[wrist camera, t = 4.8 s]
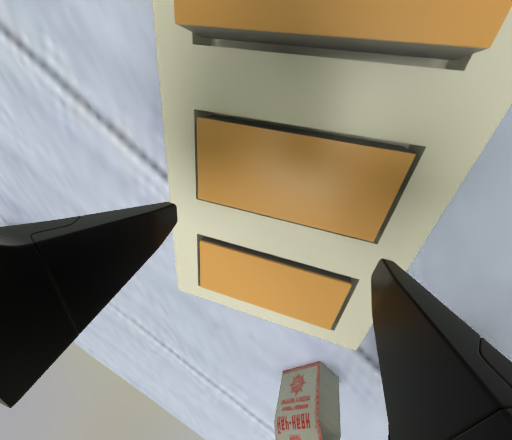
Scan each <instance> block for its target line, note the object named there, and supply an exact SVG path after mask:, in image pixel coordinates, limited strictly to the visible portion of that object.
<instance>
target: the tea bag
mask: <svg viewBox="0 0 512 440" xmlns="http://www.w3.org/2000/svg"><path fill="white" fill-rule="evenodd" d="M274 423H275V437H276V440H340V437H341V432H340V404H339V378H338V377H337V376H336V375H335V374H334V373H332V372H331V371H330V370H329V369H328V368H327V367H326V366H325V365H324V364H323V363H321V362H320V361H319V362H316V363H312V364H308V365H304V366H301V367H297V368H293V369H290V370H286V371H283V374H282V380H281V386H280V391H279V397H278V403H277V409H276V415H275V421H274Z"/></svg>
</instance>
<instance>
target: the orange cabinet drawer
mask: <svg viewBox="0 0 512 440" xmlns="http://www.w3.org/2000/svg"><path fill="white" fill-rule="evenodd" d="M351 286H352V282H351V277H349V276H345V275H342V274H338V273H335V272H331V271H328V270H324V269H321V268H317V267H313V266H310V265H306V264H303V263H299V262H296V261H292V260H289V259H285V258H282V257H278V256H275V255H271V254H268V253H264V252H260V251H257V250H253V249H250V248H246V247H243V246H239V245H236V244H232V243H229V242H225V241H222V240H218V239H215V238H211V237H207V236H204V237H203V238H202V239H201V240H200V287H202V288H205V289H208V290H211V291H214V292H217V293H220V294H223V295H226V296H229V297H232V298H235V299H238V300H241V301H244V302H247V303H250V304H253V305H256V306H259V307H262V308H265V309H268V310H271V311H274V312H277V313H280V314H283V315H286V316H289V317H292V318H295V319H298V320H301V321H304V322H307V323H310V324H313V325H316V326H319V327H322V328H325V329H328V330H330V329H331V327H332V325H333V323H334V321H335V319H336V317H337V315H338V313H339V311H340V309H341V306H342V304H343V302H344V300H345V298H346V296H347V294H348V292H349V290H350V288H351Z"/></svg>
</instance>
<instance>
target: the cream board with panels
mask: <svg viewBox="0 0 512 440" xmlns="http://www.w3.org/2000/svg"><path fill="white" fill-rule="evenodd" d="M152 6H153V17H154V29H155V40H156V51H157V62H158V73H159V84H160V95H161V106H162V117H163V128H164V139H165V150H166V161H167V172H168V183H169V195H170V203H174V204H175V205H176V206H177V218H178V220H177V224H176V225H175V227H174V228H173V239H174V250H175V261H176V272H177V283H178V290H181V291H184V292H187V293H190V294H193V295H196V296H199V297H201V298H204V299H207V300H210V301H213V302H216V303H219V304H222V305H225V306H228V307H230V308H233V309H236V310H239V311H242V312H245V313H248V314H251V315H254V316H257V317H260V318H262V319H265V320H268V321H271V322H274V323H277V324H280V325H283V326H286V327H289V328H291V329H294V330H297V331H300V332H303V333H306V334H309V335H312V336H315V337H318V338H321V339H323V340H326V341H329V342H332V343H335V344H338V345H341V346H344V347H347V348H350V349H352V350H355V351H356V350H357V348H358V347H359V345H360V343H361V342H362V340H363V339H364V337H365V335H366V334H367V332H368V331H369V329H370V328H371V326H372V324H373V319H372V304H371V276H372V273H373V271H374V269H375V267H376V265H377V264H378V262H379V260H380V259H382V258H383V259H387V260H391V261H394V262H395V263H396V264H397V265H398V266H399V267H401V268H402V269H403V270H404V271H405V272H406V271H407V269H408V267H409V266H410V264H411V263H412V261H413V260H414V258H415V256H416V255H417V253H418V252H419V250H420V248H421V247H422V245H423V244H424V242H425V241H426V239H427V237H428V236H429V234H430V233H431V231H432V229H433V228H434V226H435V225H436V223H437V222H438V220H439V218H440V217H441V215H442V214H443V212H444V211H445V209H446V207H447V206H448V204H449V203H450V201H451V199H452V198H453V196H454V195H455V193H456V192H457V190H458V188H459V187H460V185H461V184H462V182H463V180H464V179H465V177H466V176H467V174H468V173H469V171H470V169H471V168H472V166H473V165H474V163H475V161H476V160H477V158H478V157H479V155H480V154H481V152H482V150H483V149H484V147H485V146H486V144H487V143H488V141H489V139H490V138H491V136H492V135H493V133H494V131H495V130H496V128H497V127H498V125H499V124H500V122H501V120H502V119H503V117H504V116H505V114H506V112H507V111H508V109H509V108H510V106H511V105H512V7H511V9H510V11H509V13H508V15H507V17H506V18H505V20H504V22H503V24H502V26H501V28H500V30H499V32H498V34H497V36H496V37H495V39H494V41H493V43H492V45H491V47H490V48H488V49H485V50H482V51H480V52H477V53H474V54H471V55H468V56H465V57H462V58H459V59H456V60H444V59H433V58H422V57H411V56H400V55H389V54H378V53H367V52H356V51H345V50H334V49H323V48H312V47H301V46H290V45H279V44H268V43H257V42H246V41H235V40H224V39H213V38H203V37H201V36H199V35H197V34H195V33H193V32H191V31H189V30H187V29H185V28H183V27H181V26H179V25H178V24H176V23H175V17H174V0H152ZM214 115H216V116H222V117H228V118H234V119H240V120H246V121H252V122H259V123H265V124H271V125H277V126H283V127H289V128H295V129H301V130H307V131H313V132H319V133H325V134H331V135H338V136H344V137H350V138H356V139H362V140H368V141H374V142H380V143H386V144H392V145H398V146H402V147H404V148H406V149H408V150H409V151H411V152H413V153H414V154H416V156H415V158H414V160H413V162H412V164H411V166H410V168H409V170H408V172H407V174H406V176H405V178H404V180H403V182H402V184H401V186H400V189H399V191H398V193H397V195H396V197H395V199H394V201H393V203H392V205H391V207H390V209H389V211H388V213H387V215H386V217H385V219H384V221H383V224H382V226H381V228H380V230H379V232H378V234H377V236H376V238H375V240H374V242H371V241H367V240H363V239H359V238H355V237H351V236H347V235H343V234H339V233H335V232H331V231H327V230H323V229H318V228H314V227H310V226H306V225H302V224H298V223H294V222H290V221H286V220H282V219H278V218H274V217H270V216H266V215H262V214H258V213H254V212H250V211H246V210H242V209H238V208H234V207H230V206H226V205H222V204H218V203H214V202H210V201H206V200H202V199H198V166H197V117H204V116H214ZM204 236H207V237H211V238H215V239H218V240H222V241H225V242H229V243H232V244H236V245H239V246H243V247H246V248H250V249H253V250H257V251H260V252H264V253H268V254H271V255H275V256H278V257H282V258H285V259H289V260H292V261H296V262H299V263H303V264H306V265H310V266H313V267H317V268H321V269H324V270H328V271H331V272H335V273H338V274H342V275H345V276H349V277H351V282H352V286H351V288H350V290H349V292H348V294H347V296H346V298H345V300H344V302H343V304H342V306H341V309H340V311H339V313H338V315H337V317H336V319H335V321H334V323H333V325H332V327H331V329H330V330H328V329H325V328H322V327H319V326H316V325H313V324H310V323H307V322H304V321H301V320H298V319H295V318H292V317H289V316H286V315H283V314H280V313H277V312H274V311H271V310H268V309H265V308H262V307H259V306H256V305H253V304H250V303H247V302H244V301H241V300H238V299H235V298H232V297H229V296H226V295H223V294H220V293H217V292H214V291H211V290H208V289H205V288H202V287H200V240H201V239H202V238H203V237H204Z"/></svg>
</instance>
